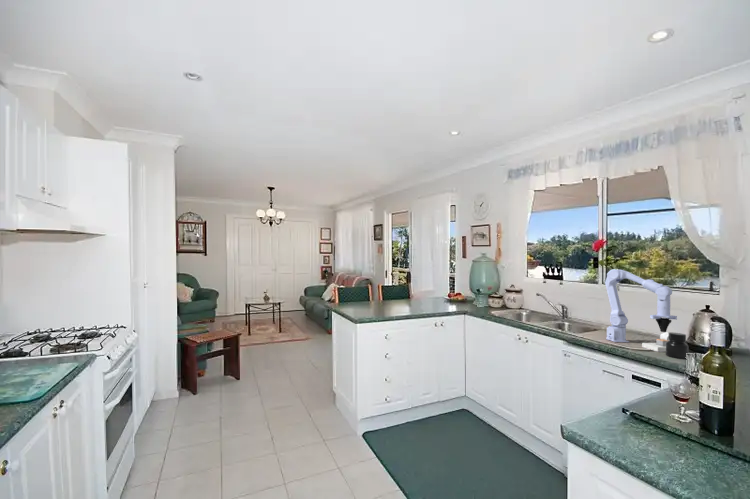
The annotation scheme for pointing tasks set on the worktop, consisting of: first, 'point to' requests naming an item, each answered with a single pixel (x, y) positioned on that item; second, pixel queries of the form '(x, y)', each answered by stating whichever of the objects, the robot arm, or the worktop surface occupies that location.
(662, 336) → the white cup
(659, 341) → the plug
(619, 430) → the worktop surface
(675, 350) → the ink bottle
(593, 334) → the worktop surface
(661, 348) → the socket plate
